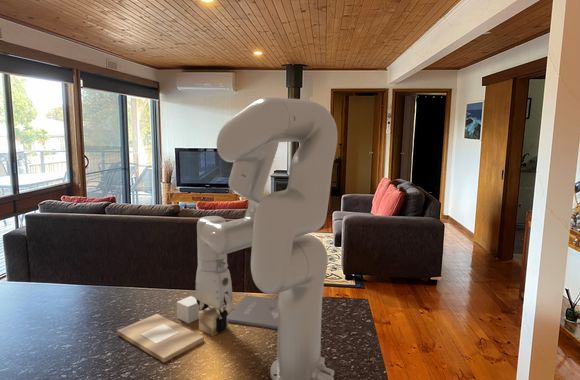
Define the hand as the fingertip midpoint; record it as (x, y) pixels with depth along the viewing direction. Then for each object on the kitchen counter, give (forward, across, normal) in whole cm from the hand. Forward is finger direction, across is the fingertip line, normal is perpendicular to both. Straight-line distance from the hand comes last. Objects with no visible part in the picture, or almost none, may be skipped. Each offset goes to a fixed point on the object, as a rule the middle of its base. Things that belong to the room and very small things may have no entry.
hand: (213, 326), depth 109 cm
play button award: (+1, -6, -16) cm, 17 cm away
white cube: (+1, +10, 0) cm, 10 cm away
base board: (+1, +7, +12) cm, 14 cm away
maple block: (+1, 0, 0) cm, 1 cm away
